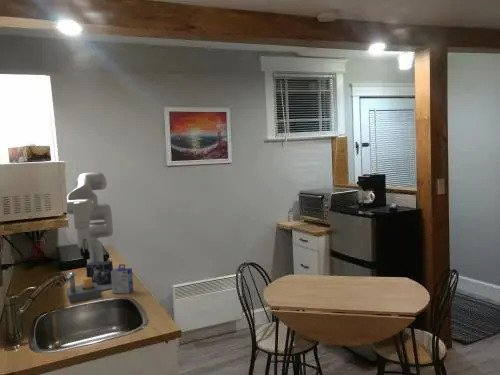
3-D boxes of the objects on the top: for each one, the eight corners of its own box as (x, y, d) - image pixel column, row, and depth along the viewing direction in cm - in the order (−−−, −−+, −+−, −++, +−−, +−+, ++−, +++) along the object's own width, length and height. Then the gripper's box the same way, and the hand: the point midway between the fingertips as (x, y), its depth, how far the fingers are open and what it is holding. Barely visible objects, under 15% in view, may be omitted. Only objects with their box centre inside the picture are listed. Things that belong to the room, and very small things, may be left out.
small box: (87, 285, 250) (85, 265, 249) (91, 282, 257) (89, 261, 256) (110, 284, 250) (108, 263, 249) (114, 280, 257) (112, 260, 256)
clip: (68, 275, 230) (67, 270, 230) (76, 274, 231) (76, 269, 231) (61, 283, 216) (61, 279, 215) (70, 282, 216) (69, 278, 216)
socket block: (67, 295, 235) (65, 274, 234) (96, 289, 242) (94, 269, 241) (70, 303, 223) (67, 280, 222) (101, 296, 229) (99, 275, 228)
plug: (83, 294, 234) (81, 278, 234) (93, 292, 237) (91, 276, 236) (84, 297, 230) (82, 280, 229) (94, 295, 232) (93, 278, 231)
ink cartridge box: (134, 290, 237) (132, 263, 236) (129, 293, 232) (127, 266, 231) (117, 290, 239) (115, 263, 238) (112, 293, 234) (109, 266, 233)
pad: (96, 287, 246) (96, 286, 246) (113, 284, 250) (113, 283, 250) (99, 291, 238) (99, 290, 238) (116, 288, 242) (116, 287, 242)
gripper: (72, 223, 236) (75, 255, 237) (76, 228, 220) (79, 262, 222) (87, 221, 239) (90, 253, 241) (92, 226, 224) (95, 259, 225)
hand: (85, 257), depth 231 cm, fingers open, 9 cm apart
